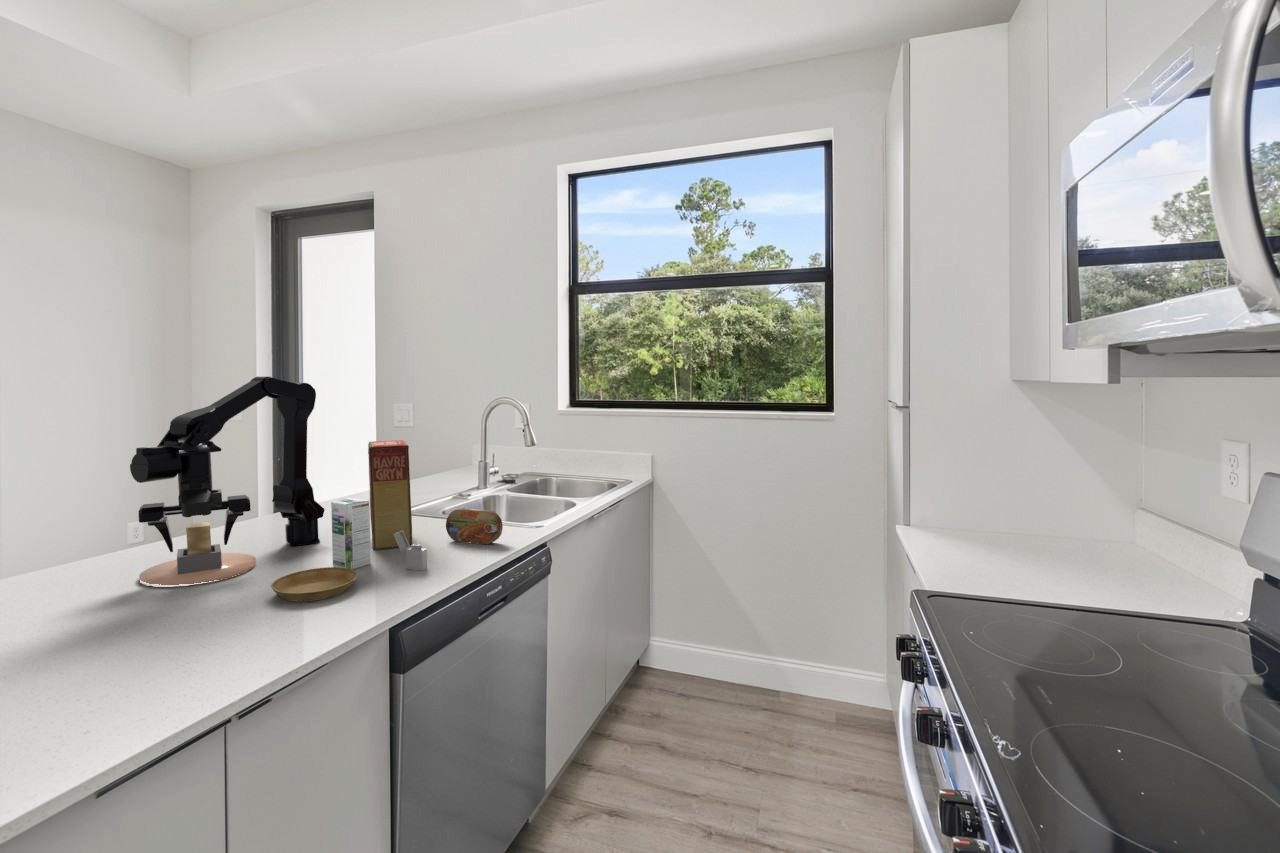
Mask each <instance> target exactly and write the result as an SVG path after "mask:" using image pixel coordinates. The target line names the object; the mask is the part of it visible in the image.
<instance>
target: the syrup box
mask: <svg viewBox="0 0 1280 853" xmlns="http://www.w3.org/2000/svg"><path fill="white" fill-rule="evenodd" d="M330 506H331V509H330V511H331V512H330V513H331V515H330V516H331V542H332V543H331V544H332V546H331V547H332V548H331V550H332V551H331V552H332V567H340V568H347V569H351V570H356V569H359V568H362V567H364V566H365V567H366V566H368V565H370V564H371V563H372V561H371V560H372V556H371V550H372V549H371V548H372V547H371V516H370V499H368V500H365V499H358V498H353V497H352V498H351V497H350V498H342V499H336V500H334V501H331V504H330Z"/></svg>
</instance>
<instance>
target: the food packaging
mask: <svg viewBox="0 0 1280 853" xmlns="http://www.w3.org/2000/svg"><path fill="white" fill-rule="evenodd" d="M367 446H368V448H367V450H368V451H367V452H368V478H369V479H368V480H369V502H370V530H371V541H372V542H371V544H372V550H373V551H379V550H380V551H382V550H390V549H399V546H398V544H397V542H396V540H395V537H394V534H395V533H397V532H399V531H402V530H403V532H404V534H405V536H406V538H407V541H408V543H409V545H410V547H411V545H412V544H413V518H412V516H413V515H412V502H411V501H412V500H411V499H412V498H411V478H410V476H411V475H410V457H409V456H410V455H409V452H410V451H409V450H410V449H409V448H410V447H409V445H408V443H407V442H406V441H405V440H404V439H402V440H400V439H399V440H394V439H393V440H375V441H374V440H373V441H368V444H367Z"/></svg>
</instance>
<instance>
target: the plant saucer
mask: <svg viewBox="0 0 1280 853" xmlns="http://www.w3.org/2000/svg"><path fill="white" fill-rule="evenodd" d="M357 577H358V572H357V571H355V569H353V570H351V569H347V568H340V567H333V566H332V567H331V566H328V567H327V566H326V567H317V568H316V567H315V568H309V569H304V570H300V571H296V572H292V573H289V574H286V575H283V576H281V577H279V578H277V579H275V580H273V581H272V583H271V584H270V588H271V590H272V591H273V592H275V594H277V595H278V596H280V597H281V598H283V599H285V600H287V601H291V602H312V601H319V600H324V599H329V598H332V597H335V596H338V595H340V594H341V593H343V592H345V591H346V590H347V589H349V588H350V586H351V585H352V584H353V583H354V581H355V580H356V579H357Z"/></svg>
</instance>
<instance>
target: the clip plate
mask: <svg viewBox="0 0 1280 853" xmlns="http://www.w3.org/2000/svg"><path fill="white" fill-rule="evenodd" d="M255 565H257V560H256V557H255V556H253V555H251V554H247V553H240V552H239V553H238V552H222V549H221V544H220V543H217V544H211V552H208V553H201V554H193V555H188V549H187V547H186V548H185V547H184V548H178V549H177V554H176V559H173V560H170V561H167V562H166V561H165V562H163V563H159V564H155V565H153V566H150V567H149V568H146V569H145V570H143V571H142V572H140V574H139V576H138V579H140V580H141V581H143V582H146V583H149V584H159V585H160V584H161V585H179V584H194V583H201V582H209V581H214V580H221V579H225V578H229V577H232V576H235V575H238V574H241V575H243V574H245V573H244V572H246V571H248V570H250V569H251V570H252V568H253V567H254V566H255ZM255 567H256V566H255ZM255 567H254V568H255ZM254 568H253V569H254ZM251 570H250V571H251ZM248 572H249V571H248ZM242 573H243V574H242ZM246 573H247V572H246ZM238 576H239V575H238ZM235 577H236V576H235ZM232 578H233V577H232ZM229 579H230V578H229ZM140 580H139V581H140ZM225 580H226V579H225ZM221 581H222V580H221Z"/></svg>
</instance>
